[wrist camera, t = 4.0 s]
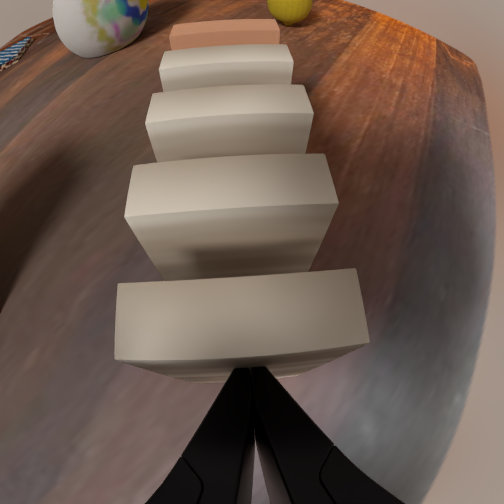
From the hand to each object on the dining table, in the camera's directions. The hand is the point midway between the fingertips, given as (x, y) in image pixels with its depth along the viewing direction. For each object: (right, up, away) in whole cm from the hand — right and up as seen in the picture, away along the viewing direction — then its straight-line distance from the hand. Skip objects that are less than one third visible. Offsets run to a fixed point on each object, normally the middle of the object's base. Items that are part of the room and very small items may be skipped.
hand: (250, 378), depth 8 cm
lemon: (+5, +32, +24) cm, 41 cm away
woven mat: (-46, +38, +27) cm, 65 cm away
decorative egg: (-19, +31, +23) cm, 43 cm away
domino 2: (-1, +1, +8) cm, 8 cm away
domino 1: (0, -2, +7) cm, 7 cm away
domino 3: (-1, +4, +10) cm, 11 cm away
